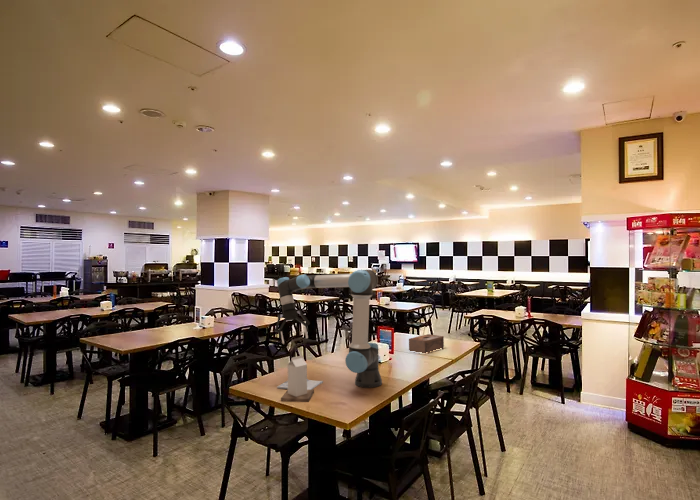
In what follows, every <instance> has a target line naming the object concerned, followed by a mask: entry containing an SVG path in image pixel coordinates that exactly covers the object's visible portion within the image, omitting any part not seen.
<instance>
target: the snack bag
mask: <svg viewBox="0 0 700 500" xmlns="http://www.w3.org/2000/svg"><path fill="white" fill-rule="evenodd" d="M323 383H324V380H314V379H313V380H312V379H308V378H307V390H314V388H316V387H318V386H319V385H321V384H323ZM276 388H277V389H280V390H288V380H286V381H284V382H283V383H281V384H279V385H277V386H276Z"/></svg>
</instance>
